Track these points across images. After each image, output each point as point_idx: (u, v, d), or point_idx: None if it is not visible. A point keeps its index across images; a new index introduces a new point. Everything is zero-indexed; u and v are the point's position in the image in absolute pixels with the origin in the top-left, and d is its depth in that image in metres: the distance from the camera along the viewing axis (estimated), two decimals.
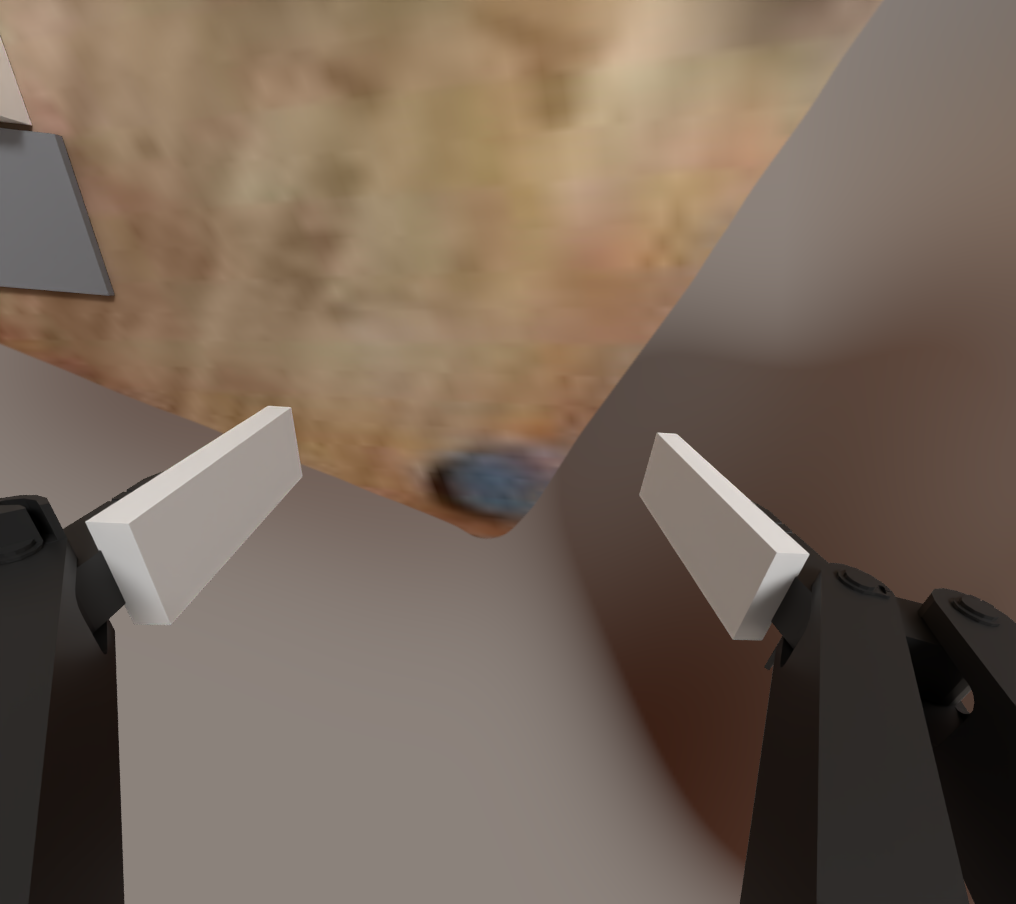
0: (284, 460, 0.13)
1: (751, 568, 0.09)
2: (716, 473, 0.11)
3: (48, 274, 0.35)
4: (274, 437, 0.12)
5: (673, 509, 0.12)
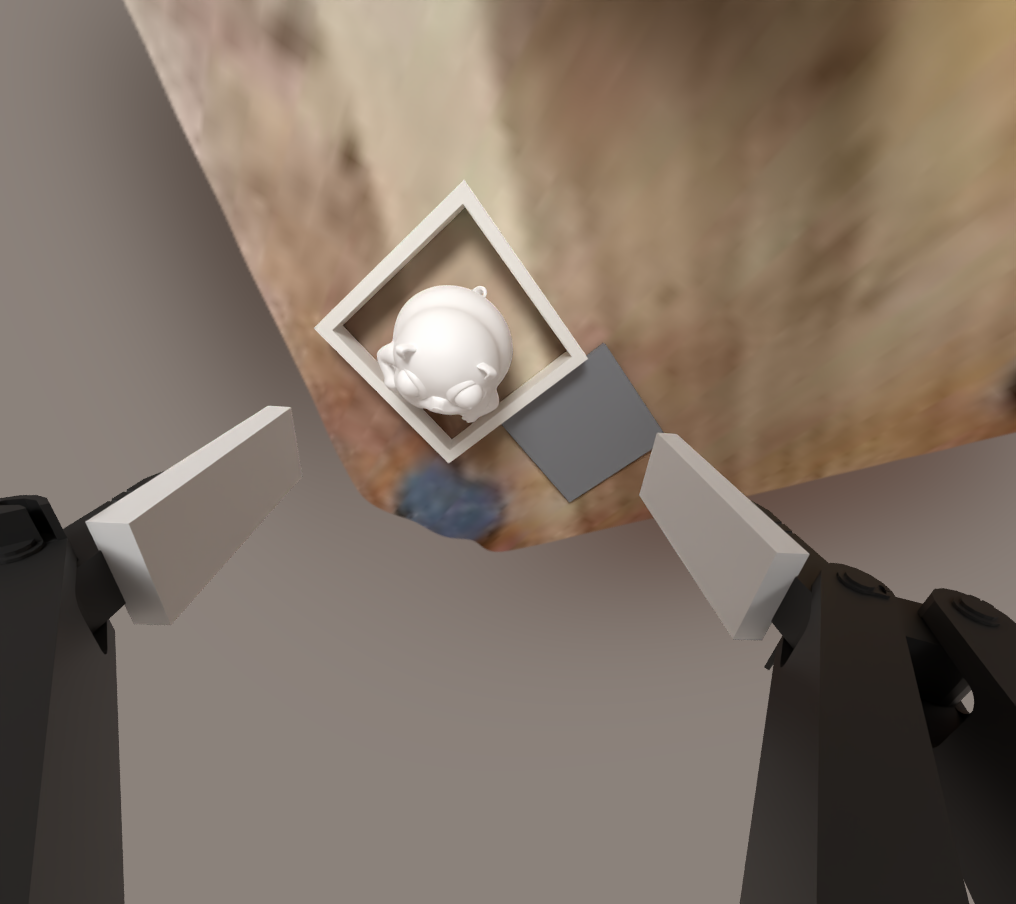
0: (284, 460, 0.13)
1: (751, 568, 0.09)
2: (716, 473, 0.11)
3: (621, 455, 0.39)
4: (274, 437, 0.12)
5: (673, 509, 0.12)
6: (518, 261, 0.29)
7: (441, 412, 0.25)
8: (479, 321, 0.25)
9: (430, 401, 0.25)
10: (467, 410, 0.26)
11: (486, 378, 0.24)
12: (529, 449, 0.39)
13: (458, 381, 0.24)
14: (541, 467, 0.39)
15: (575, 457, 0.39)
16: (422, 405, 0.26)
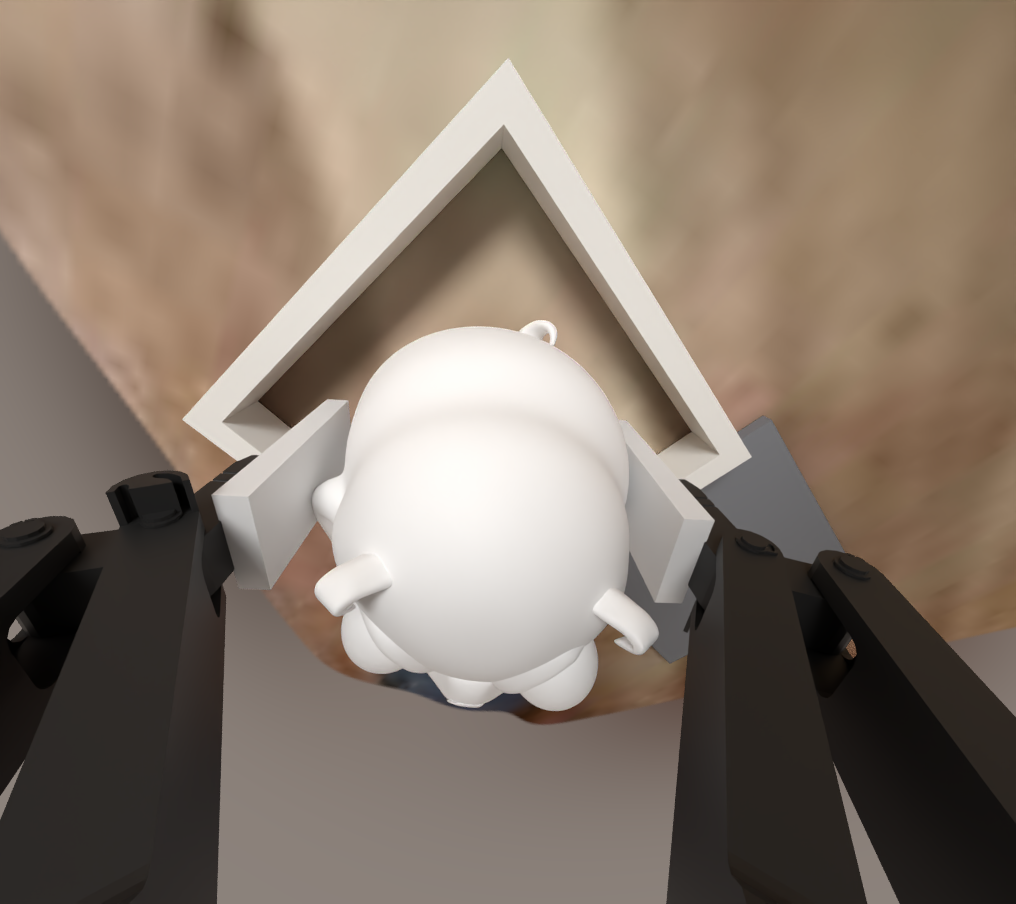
0: (343, 449, 0.14)
1: (668, 536, 0.10)
2: (652, 454, 0.12)
3: None
4: (336, 427, 0.13)
5: None
6: (628, 264, 0.13)
7: None
8: (580, 444, 0.08)
9: (443, 680, 0.09)
10: None
11: (625, 649, 0.07)
12: None
13: (535, 664, 0.07)
14: None
15: (688, 602, 0.22)
16: None
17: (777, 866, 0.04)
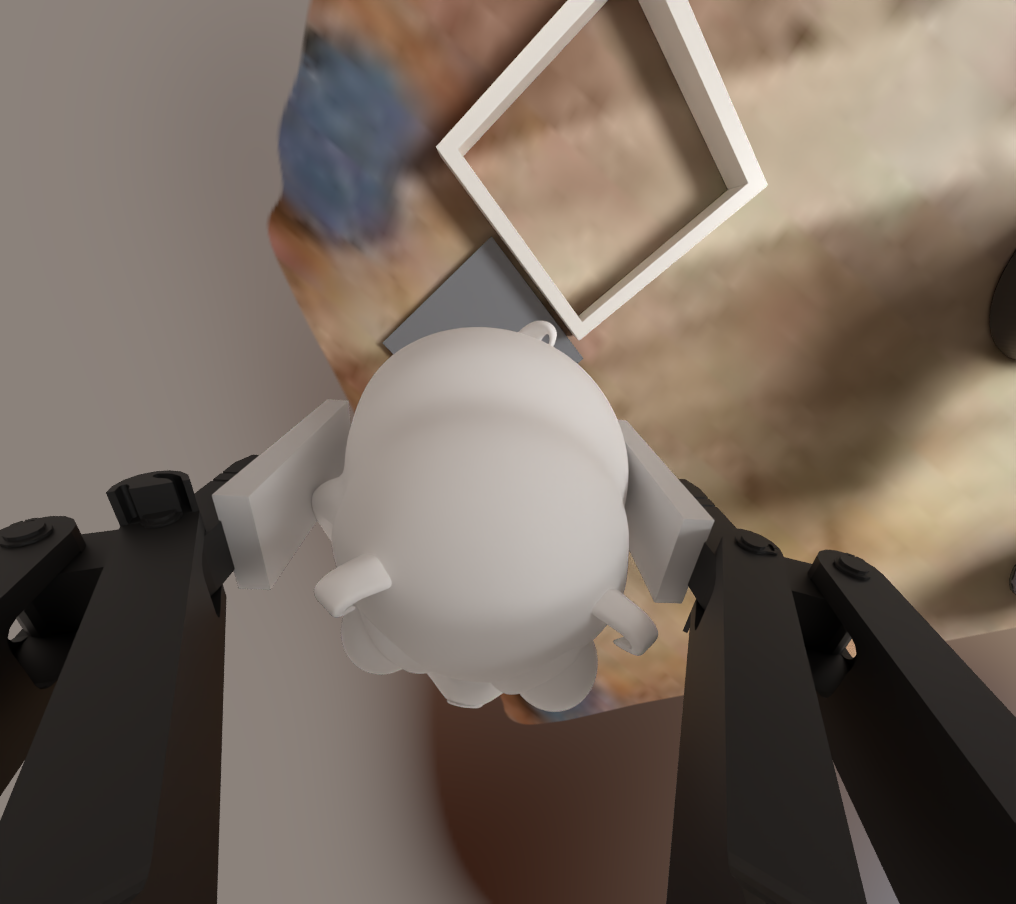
0: (343, 449, 0.14)
1: (667, 535, 0.10)
2: (652, 454, 0.12)
3: None
4: (336, 427, 0.13)
5: None
6: (684, 251, 0.28)
7: None
8: (579, 444, 0.08)
9: (443, 680, 0.09)
10: None
11: (624, 649, 0.07)
12: (455, 279, 0.30)
13: (534, 665, 0.07)
14: (431, 299, 0.30)
15: None
16: None
17: (776, 868, 0.04)
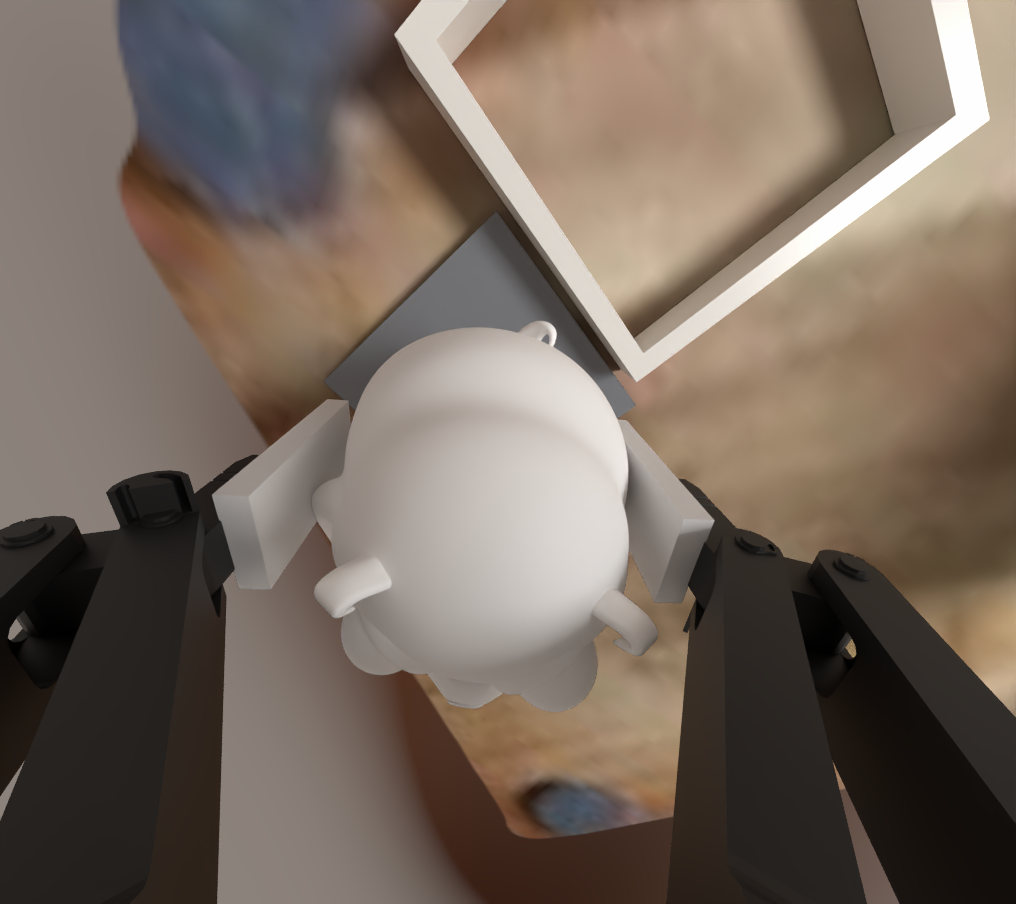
0: (343, 449, 0.14)
1: (667, 535, 0.10)
2: (652, 454, 0.12)
3: None
4: (337, 427, 0.13)
5: None
6: (825, 237, 0.16)
7: None
8: (579, 445, 0.08)
9: (443, 681, 0.09)
10: None
11: (624, 650, 0.07)
12: (436, 283, 0.18)
13: (534, 666, 0.07)
14: (398, 314, 0.19)
15: None
16: None
17: (776, 867, 0.04)
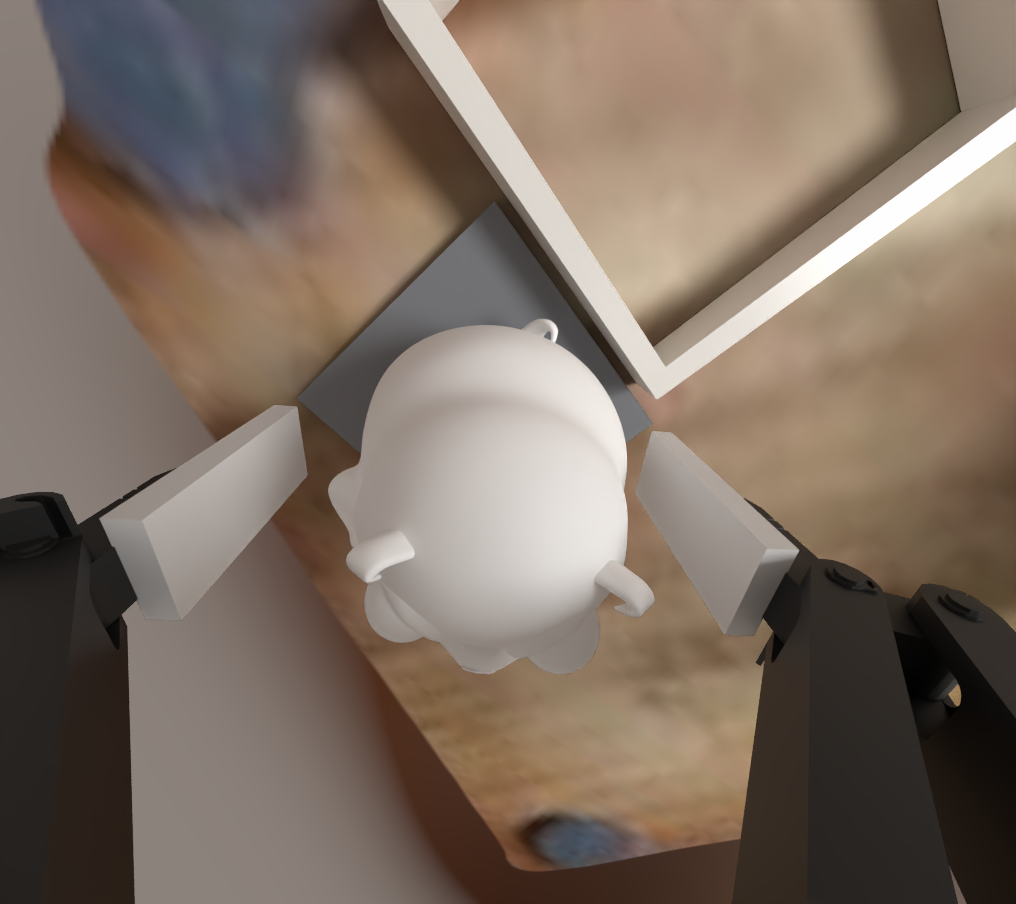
0: (290, 459, 0.13)
1: (742, 564, 0.09)
2: (709, 471, 0.11)
3: None
4: (280, 435, 0.12)
5: (667, 507, 0.13)
6: (883, 232, 0.14)
7: None
8: (581, 430, 0.09)
9: (458, 649, 0.09)
10: None
11: (624, 613, 0.08)
12: (425, 286, 0.16)
13: (543, 628, 0.08)
14: (380, 321, 0.16)
15: None
16: None
17: None
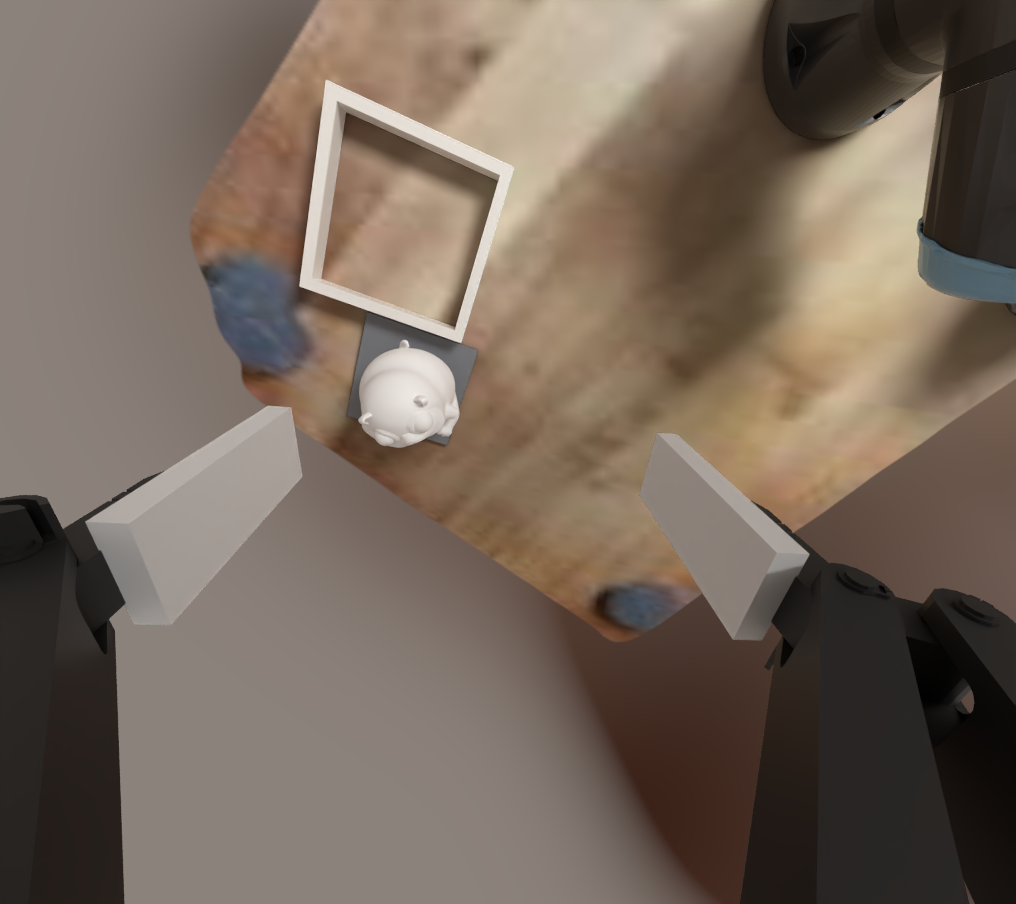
0: (284, 460, 0.13)
1: (751, 568, 0.09)
2: (716, 473, 0.11)
3: None
4: (274, 436, 0.12)
5: (673, 509, 0.12)
6: (489, 244, 0.36)
7: (414, 442, 0.34)
8: (401, 370, 0.34)
9: (403, 439, 0.34)
10: (431, 430, 0.35)
11: (423, 404, 0.32)
12: (363, 351, 0.41)
13: (407, 417, 0.33)
14: (357, 372, 0.42)
15: None
16: (402, 444, 0.35)
17: None
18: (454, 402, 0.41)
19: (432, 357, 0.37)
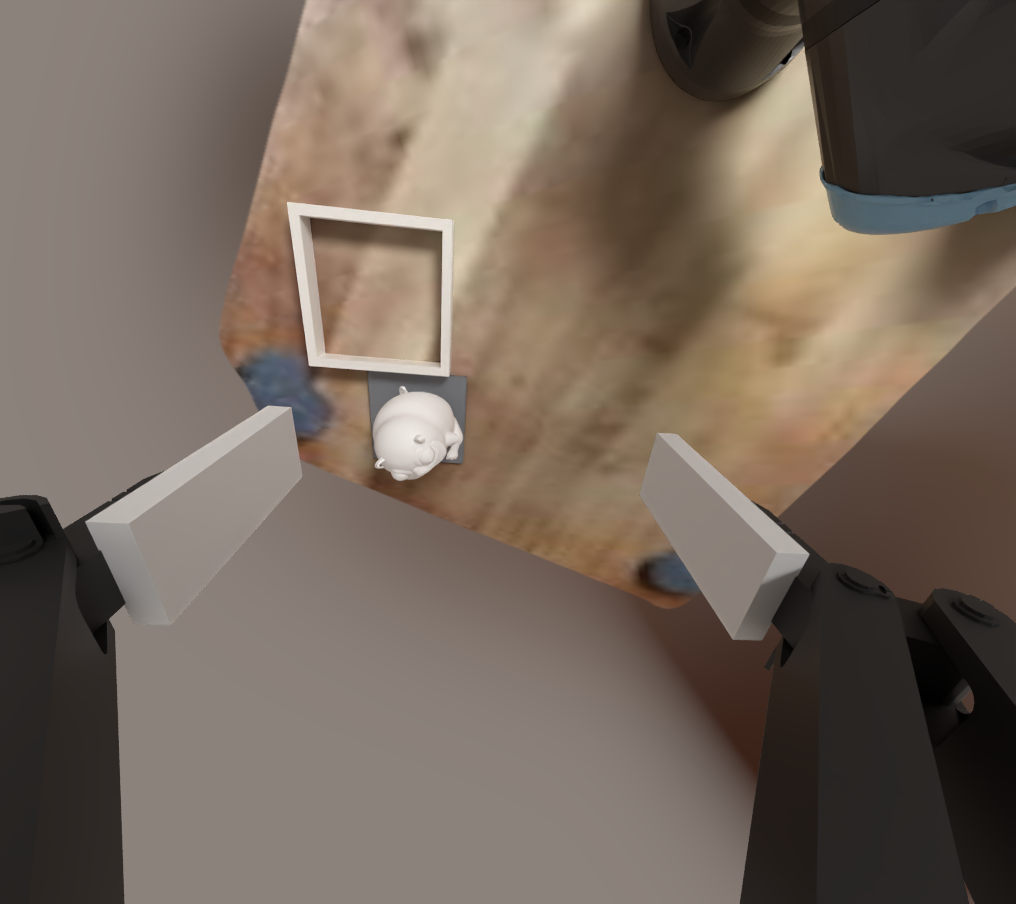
0: (284, 460, 0.13)
1: (751, 568, 0.09)
2: (716, 473, 0.11)
3: None
4: (274, 437, 0.12)
5: (673, 509, 0.12)
6: (449, 289, 0.41)
7: (423, 473, 0.40)
8: (400, 416, 0.40)
9: (414, 473, 0.41)
10: (436, 460, 0.41)
11: (421, 442, 0.38)
12: (373, 402, 0.48)
13: (412, 455, 0.39)
14: (372, 420, 0.49)
15: None
16: (416, 476, 0.42)
17: None
18: (456, 428, 0.47)
19: (426, 396, 0.43)
